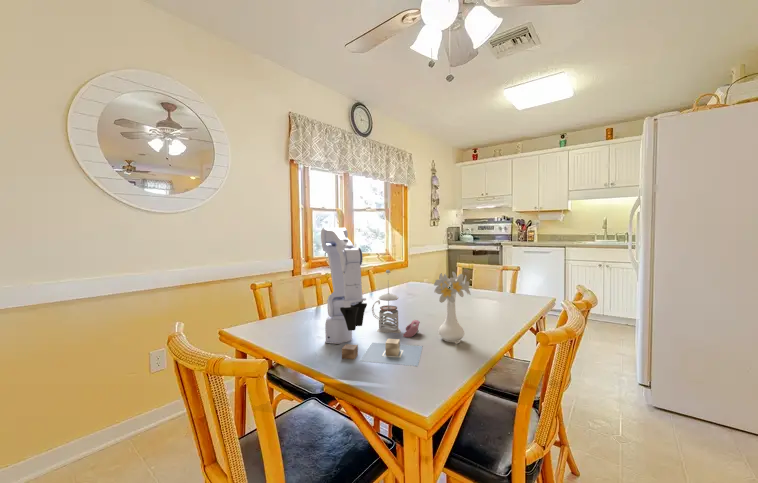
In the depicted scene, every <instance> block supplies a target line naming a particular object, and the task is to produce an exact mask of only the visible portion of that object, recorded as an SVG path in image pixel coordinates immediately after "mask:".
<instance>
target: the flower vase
mask: <svg viewBox="0 0 758 483" xmlns="http://www.w3.org/2000/svg"><path fill="white" fill-rule="evenodd" d="M452 276H453V277H450V278H448V275H447V274H446V273H444V274H443V273H440V274H439V279H435V282H434V283H433V286H435V289H434V293H435V294H437V295H440V296H439V303H442V304H443V303H445V301H446V313H445V314H446V315H445V320H443V321H444V322H442V324H441V325H440V326H439V327H438V330H437V332H438V335H439V337H440V338H441V339H442V340H443V341H445V342H447V343H455V345H459V344H460V343H461V340H462V339H463V338H464V337H465V329H464V327H463V326H462V325H461V324H460V323H459V321H458V319H457V313H456V297H457V294H458V296H459V297H461V298H463V297H464V292H463V291H465V293H466V294H467V295H470V296H471V295H472V294H471V291H470V281H469V280H468V281H467V275H466V274H465V275H464V274H462V273H460V274H458V275H457V274H456V272H455V271H452ZM464 276H465V277H464Z"/></svg>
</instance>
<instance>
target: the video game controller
mask: <svg viewBox="0 0 758 483" xmlns="http://www.w3.org/2000/svg"><path fill="white" fill-rule="evenodd" d="M420 323H421V322H420V321H419V320H418V319H414V320H412V321H411V323H409V324H408V325H406V327H405V332H403V335H402V337H403V338H411V337H414V336H415V335H416V333H419V332H420V329H419V326H420Z"/></svg>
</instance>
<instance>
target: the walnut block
mask: <svg viewBox="0 0 758 483" xmlns="http://www.w3.org/2000/svg"><path fill="white" fill-rule="evenodd" d="M358 355H359V344H349V343H347V344H345V345H344V346H342V348H341V359H345V360H355V359H356V358H357V356H358Z"/></svg>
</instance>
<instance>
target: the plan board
mask: <svg viewBox="0 0 758 483" xmlns="http://www.w3.org/2000/svg"><path fill="white" fill-rule="evenodd" d="M385 343H386V342H385ZM385 343H382V342H371V343H370V345H369V346H368V348H367V349H366V351H365V352H364V354H363V355H362V357H361V358H360V359H359V362H361V363H362V362H365V363H374V364H375V363H376V364H377V363H378V364H386V365H400V366H401V365H402V366H410V367H411V366H413V367H418V366H419V363H420V359H421V354H422V350H423V347H424V346H423V345H412V344H400V352H399V355H398V356H390V355H386V350H385Z"/></svg>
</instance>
